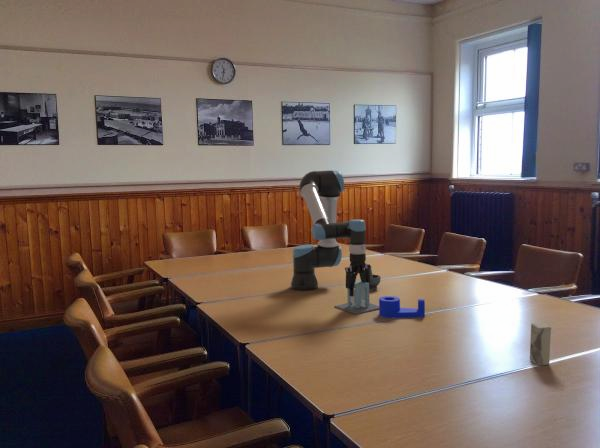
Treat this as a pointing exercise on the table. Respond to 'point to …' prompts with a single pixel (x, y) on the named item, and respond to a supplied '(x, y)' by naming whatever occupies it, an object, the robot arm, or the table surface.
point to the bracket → (391, 308)
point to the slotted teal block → (359, 293)
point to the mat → (358, 310)
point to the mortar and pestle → (374, 281)
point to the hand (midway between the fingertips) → (358, 301)
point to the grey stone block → (540, 343)
